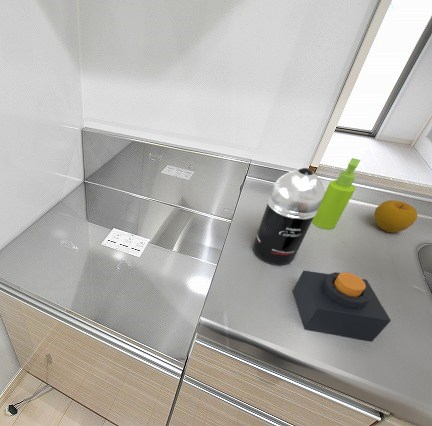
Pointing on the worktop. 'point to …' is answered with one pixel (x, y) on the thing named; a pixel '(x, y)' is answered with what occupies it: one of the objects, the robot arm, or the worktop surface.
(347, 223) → the worktop surface
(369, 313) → the button base
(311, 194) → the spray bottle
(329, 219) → the soap dispenser
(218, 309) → the worktop surface
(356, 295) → the orange disc
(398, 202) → the apple
